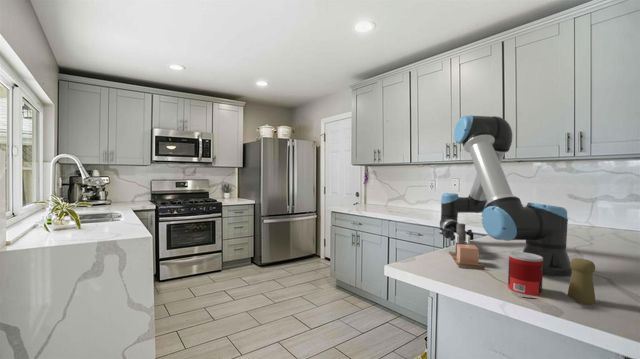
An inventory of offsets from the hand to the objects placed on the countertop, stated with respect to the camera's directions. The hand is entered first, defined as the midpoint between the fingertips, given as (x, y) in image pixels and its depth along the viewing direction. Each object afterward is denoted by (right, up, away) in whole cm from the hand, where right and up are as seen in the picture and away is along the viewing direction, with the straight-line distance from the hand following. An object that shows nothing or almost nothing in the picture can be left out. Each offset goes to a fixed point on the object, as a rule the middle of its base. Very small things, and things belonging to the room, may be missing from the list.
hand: (463, 239), depth 119 cm
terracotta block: (-2, -7, -7) cm, 10 cm away
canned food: (+2, -9, -32) cm, 33 cm away
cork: (+15, -9, -36) cm, 40 cm away
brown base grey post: (-1, -8, -3) cm, 9 cm away
